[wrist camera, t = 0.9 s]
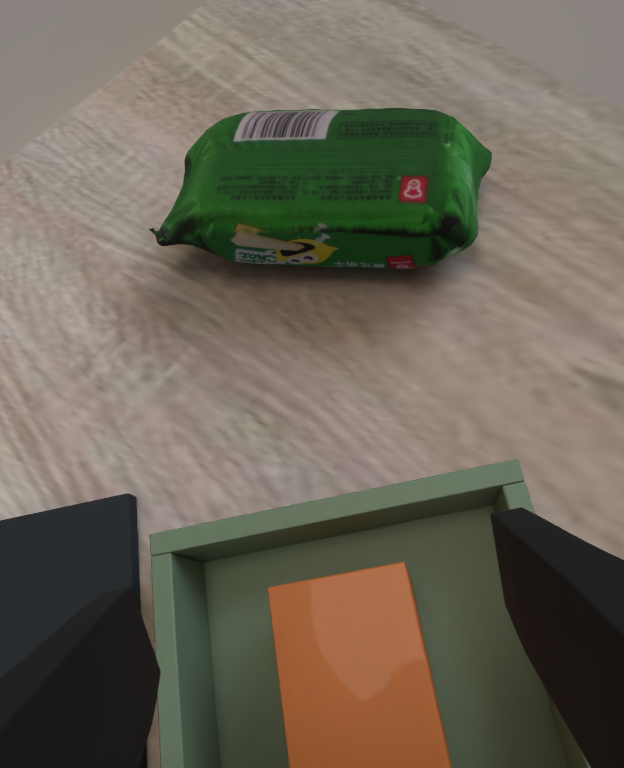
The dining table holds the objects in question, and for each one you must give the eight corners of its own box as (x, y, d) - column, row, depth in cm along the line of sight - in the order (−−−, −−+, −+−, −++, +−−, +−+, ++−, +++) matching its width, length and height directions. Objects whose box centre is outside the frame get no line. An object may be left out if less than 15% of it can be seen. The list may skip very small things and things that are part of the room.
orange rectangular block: (472, 858, 19) (485, 928, 15) (338, 877, 20) (311, 950, 15) (410, 574, 23) (404, 560, 18) (298, 595, 23) (266, 587, 19)
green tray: (646, 948, 18) (698, 1023, 14) (219, 998, 19) (173, 1077, 16) (505, 483, 24) (518, 458, 20) (187, 547, 25) (149, 534, 22)
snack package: (202, 172, 34) (164, 97, 29) (489, 169, 30) (499, 82, 25) (173, 280, 31) (126, 218, 26) (482, 291, 27) (491, 221, 23)
